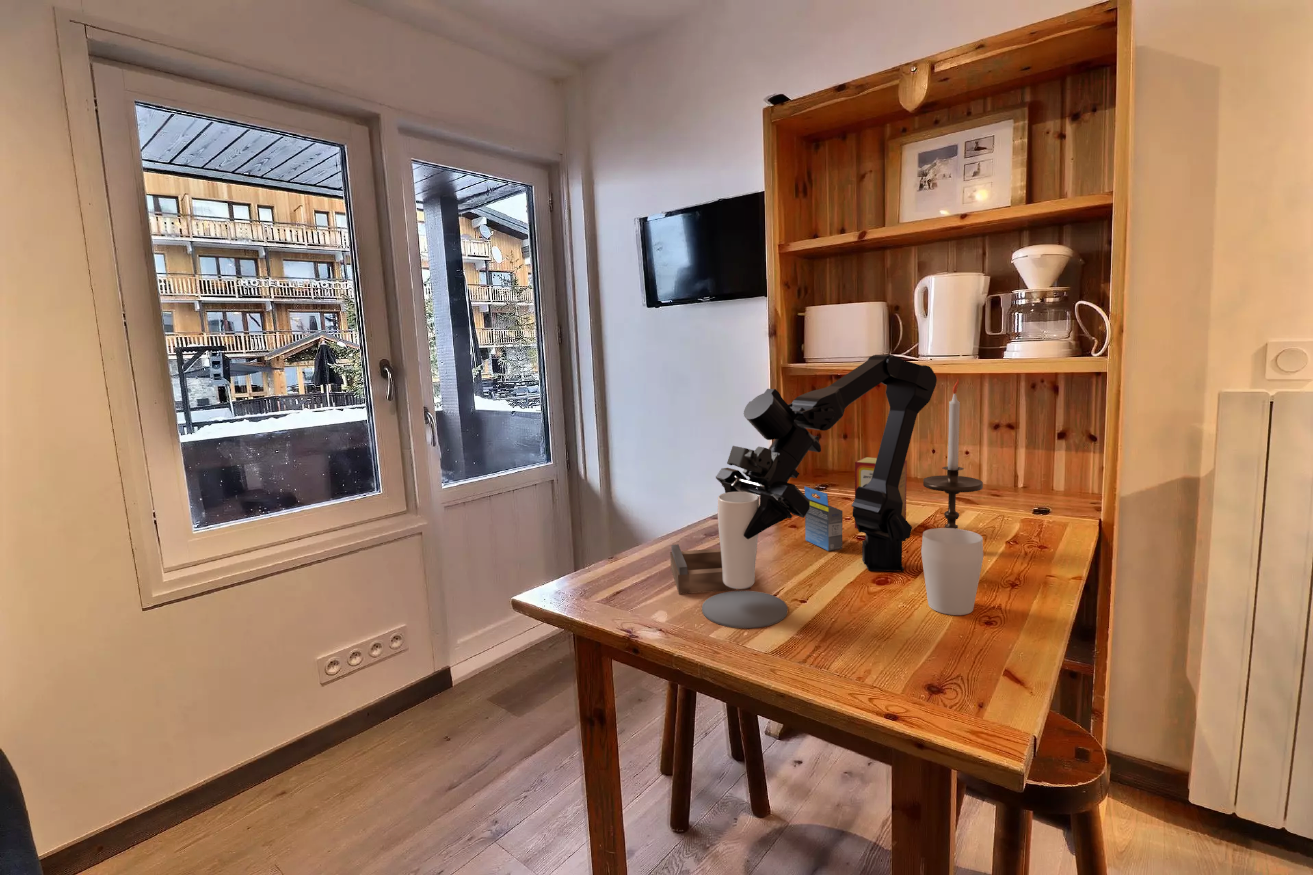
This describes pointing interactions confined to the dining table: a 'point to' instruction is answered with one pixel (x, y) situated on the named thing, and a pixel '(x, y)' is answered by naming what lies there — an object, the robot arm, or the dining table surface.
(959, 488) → the candlestick
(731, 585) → the drinking glass
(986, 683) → the dining table surface
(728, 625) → the slate mat
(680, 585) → the wooden holder tray
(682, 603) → the dining table surface
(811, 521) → the blue hang tab box
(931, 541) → the cup
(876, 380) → the robot arm
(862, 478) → the baking soda box
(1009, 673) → the dining table surface
